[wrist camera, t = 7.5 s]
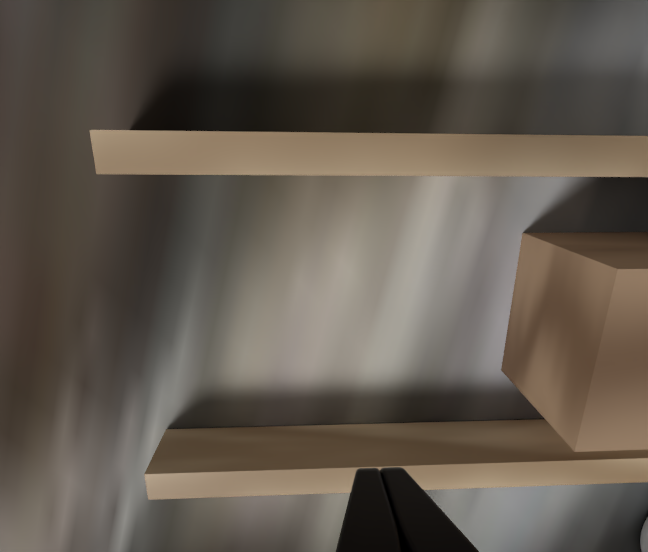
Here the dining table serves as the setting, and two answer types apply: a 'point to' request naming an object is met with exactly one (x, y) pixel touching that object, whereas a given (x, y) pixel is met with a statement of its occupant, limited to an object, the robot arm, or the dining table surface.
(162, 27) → the dining table surface
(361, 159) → the bay
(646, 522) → the supplement bottle
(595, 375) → the cardboard box
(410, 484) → the robot arm
